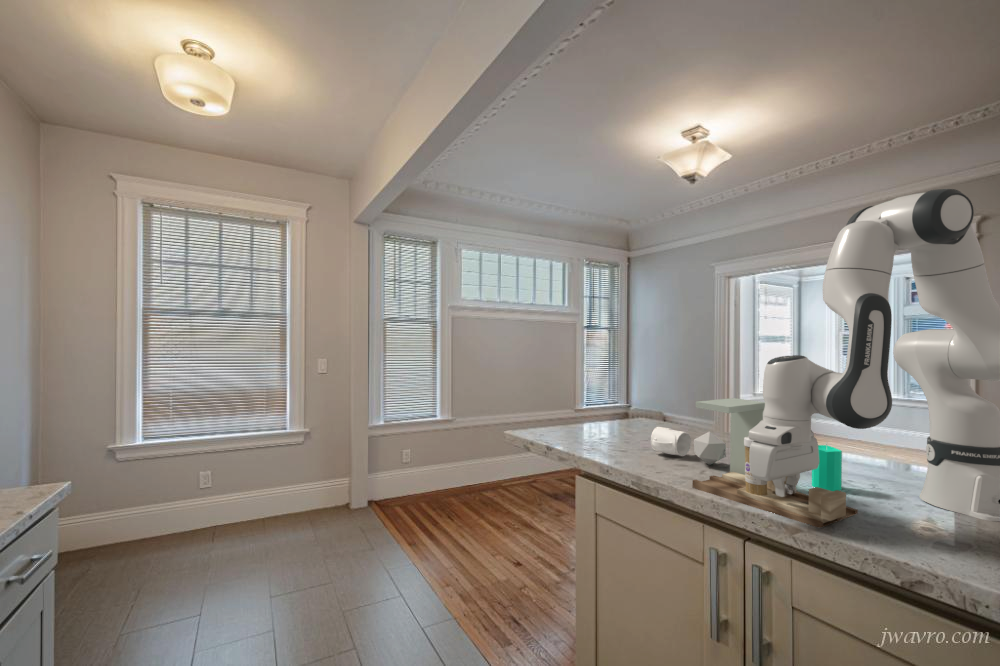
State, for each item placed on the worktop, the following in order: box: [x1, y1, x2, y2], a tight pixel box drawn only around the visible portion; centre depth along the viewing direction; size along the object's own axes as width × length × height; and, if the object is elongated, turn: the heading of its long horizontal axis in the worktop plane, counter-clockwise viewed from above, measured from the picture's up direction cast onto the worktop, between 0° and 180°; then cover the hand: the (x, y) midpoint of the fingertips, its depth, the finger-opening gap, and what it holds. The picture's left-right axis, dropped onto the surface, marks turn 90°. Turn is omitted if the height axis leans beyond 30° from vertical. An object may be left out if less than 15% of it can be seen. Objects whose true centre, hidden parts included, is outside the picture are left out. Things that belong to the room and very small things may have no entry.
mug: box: [650, 426, 693, 457], centre depth 144 cm, size 12×9×8 cm
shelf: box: [695, 397, 765, 475], centre depth 113 cm, size 9×15×22 cm, turn 119°
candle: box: [811, 441, 843, 491], centre depth 112 cm, size 6×6×12 cm
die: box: [693, 431, 727, 466], centre depth 132 cm, size 8×9×10 cm
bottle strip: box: [737, 487, 847, 523], centre depth 97 cm, size 20×6×6 cm, turn 29°
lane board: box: [691, 471, 859, 529], centre depth 104 cm, size 29×15×2 cm, turn 29°
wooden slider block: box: [721, 471, 788, 494], centre depth 110 cm, size 15×6×6 cm, turn 29°
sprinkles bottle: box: [744, 437, 767, 495], centre depth 103 cm, size 5×5×13 cm
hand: (785, 494), depth 97 cm, fingers closed
